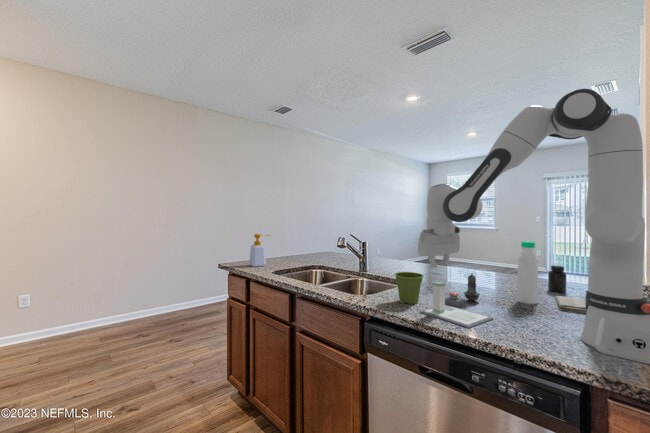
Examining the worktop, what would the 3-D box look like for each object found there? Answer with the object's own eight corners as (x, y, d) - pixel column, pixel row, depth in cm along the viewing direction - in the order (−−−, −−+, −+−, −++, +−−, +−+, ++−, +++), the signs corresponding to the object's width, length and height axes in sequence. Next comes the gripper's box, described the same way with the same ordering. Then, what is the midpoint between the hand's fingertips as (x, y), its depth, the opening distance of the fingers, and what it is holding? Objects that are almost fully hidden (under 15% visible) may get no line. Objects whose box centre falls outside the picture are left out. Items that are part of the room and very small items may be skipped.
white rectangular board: (493, 319, 106) (493, 317, 106) (469, 328, 97) (469, 325, 97) (444, 305, 121) (444, 303, 121) (419, 312, 113) (419, 310, 113)
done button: (460, 302, 122) (460, 293, 122) (455, 303, 120) (455, 294, 120) (452, 300, 125) (452, 291, 125) (447, 301, 123) (447, 292, 123)
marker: (445, 311, 112) (445, 282, 112) (439, 313, 110) (439, 284, 110) (437, 309, 114) (437, 281, 114) (432, 310, 113) (432, 282, 112)
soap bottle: (272, 265, 213) (272, 233, 213) (252, 267, 206) (252, 234, 206) (267, 263, 221) (267, 232, 221) (248, 265, 215) (248, 233, 214)
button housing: (465, 305, 122) (465, 299, 122) (456, 308, 118) (456, 301, 118) (451, 301, 127) (451, 295, 127) (442, 304, 123) (442, 298, 123)
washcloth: (559, 312, 116) (559, 303, 116) (554, 300, 131) (554, 293, 131) (601, 317, 109) (601, 309, 109) (590, 304, 125) (590, 297, 125)
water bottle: (517, 299, 131) (517, 240, 131) (537, 301, 128) (537, 241, 127) (517, 303, 125) (518, 241, 125) (538, 305, 121) (539, 242, 121)
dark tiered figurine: (481, 304, 123) (481, 274, 123) (465, 303, 124) (466, 274, 124) (477, 300, 129) (477, 272, 128) (462, 299, 130) (462, 271, 130)
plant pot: (388, 301, 128) (388, 274, 127) (405, 296, 135) (405, 270, 135) (412, 308, 118) (412, 278, 118) (429, 302, 126) (429, 275, 126)
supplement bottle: (544, 290, 146) (544, 265, 146) (554, 289, 148) (555, 264, 148) (559, 294, 140) (559, 267, 140) (570, 292, 142) (570, 267, 142)
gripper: (428, 230, 103) (428, 271, 103) (463, 228, 115) (462, 265, 115) (413, 229, 108) (413, 268, 109) (448, 227, 120) (447, 263, 120)
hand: (439, 266), depth 112 cm, fingers open, 5 cm apart
